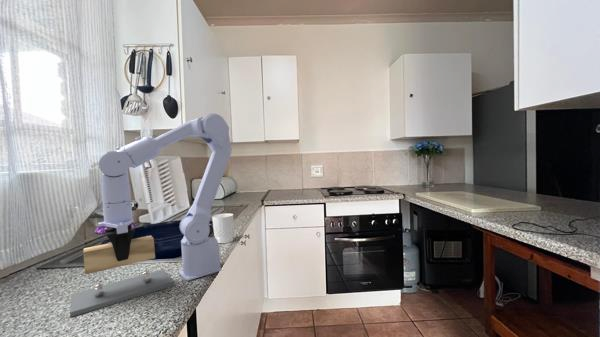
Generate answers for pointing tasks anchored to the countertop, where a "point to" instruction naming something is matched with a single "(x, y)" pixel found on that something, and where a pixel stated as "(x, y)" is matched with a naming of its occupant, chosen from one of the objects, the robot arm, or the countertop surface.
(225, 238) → the white cup
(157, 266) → the countertop surface
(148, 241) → the board
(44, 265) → the countertop surface
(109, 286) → the flat gray rectangular plate
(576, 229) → the countertop surface
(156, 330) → the countertop surface
